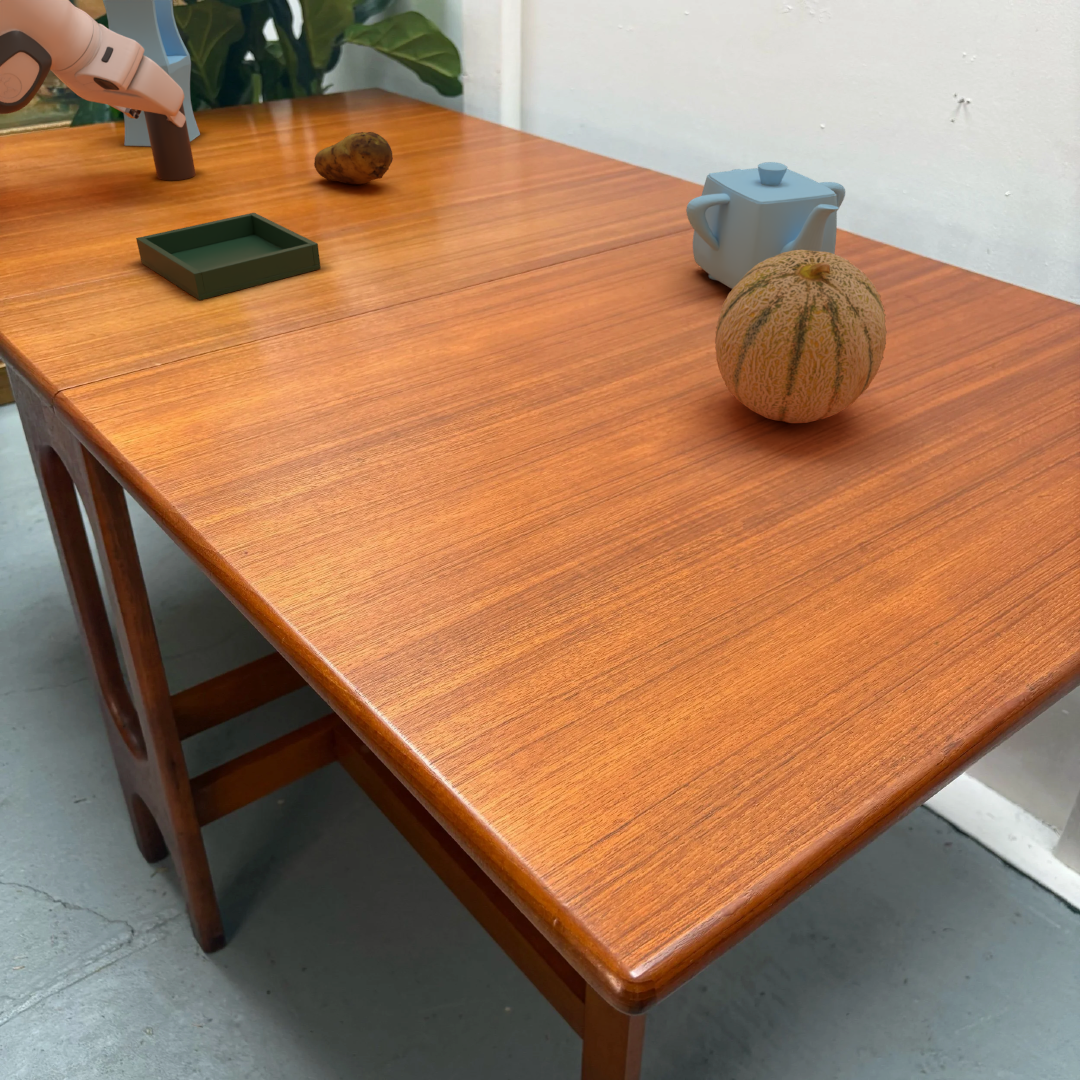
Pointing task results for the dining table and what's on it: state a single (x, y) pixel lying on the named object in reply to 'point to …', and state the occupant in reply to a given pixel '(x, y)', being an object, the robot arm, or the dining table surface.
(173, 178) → the pepper mill
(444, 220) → the dining table surface
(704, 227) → the teapot
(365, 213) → the dining table surface
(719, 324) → the cantaloupe
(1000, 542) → the dining table surface
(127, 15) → the vase
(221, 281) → the tray
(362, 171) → the potato
